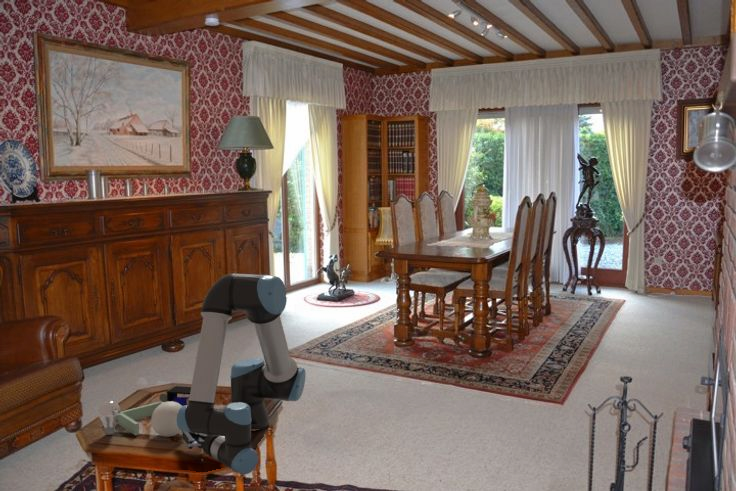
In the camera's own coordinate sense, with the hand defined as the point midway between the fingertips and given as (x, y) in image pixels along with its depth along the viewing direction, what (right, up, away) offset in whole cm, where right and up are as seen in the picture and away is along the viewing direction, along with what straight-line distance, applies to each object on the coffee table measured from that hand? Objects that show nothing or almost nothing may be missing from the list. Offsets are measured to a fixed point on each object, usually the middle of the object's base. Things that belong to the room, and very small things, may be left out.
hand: (180, 424), depth 205 cm
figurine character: (-10, -3, +33) cm, 35 cm away
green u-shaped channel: (-16, -4, +16) cm, 23 cm away
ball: (-6, 0, +6) cm, 8 cm away
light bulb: (-26, -5, +6) cm, 27 cm away
